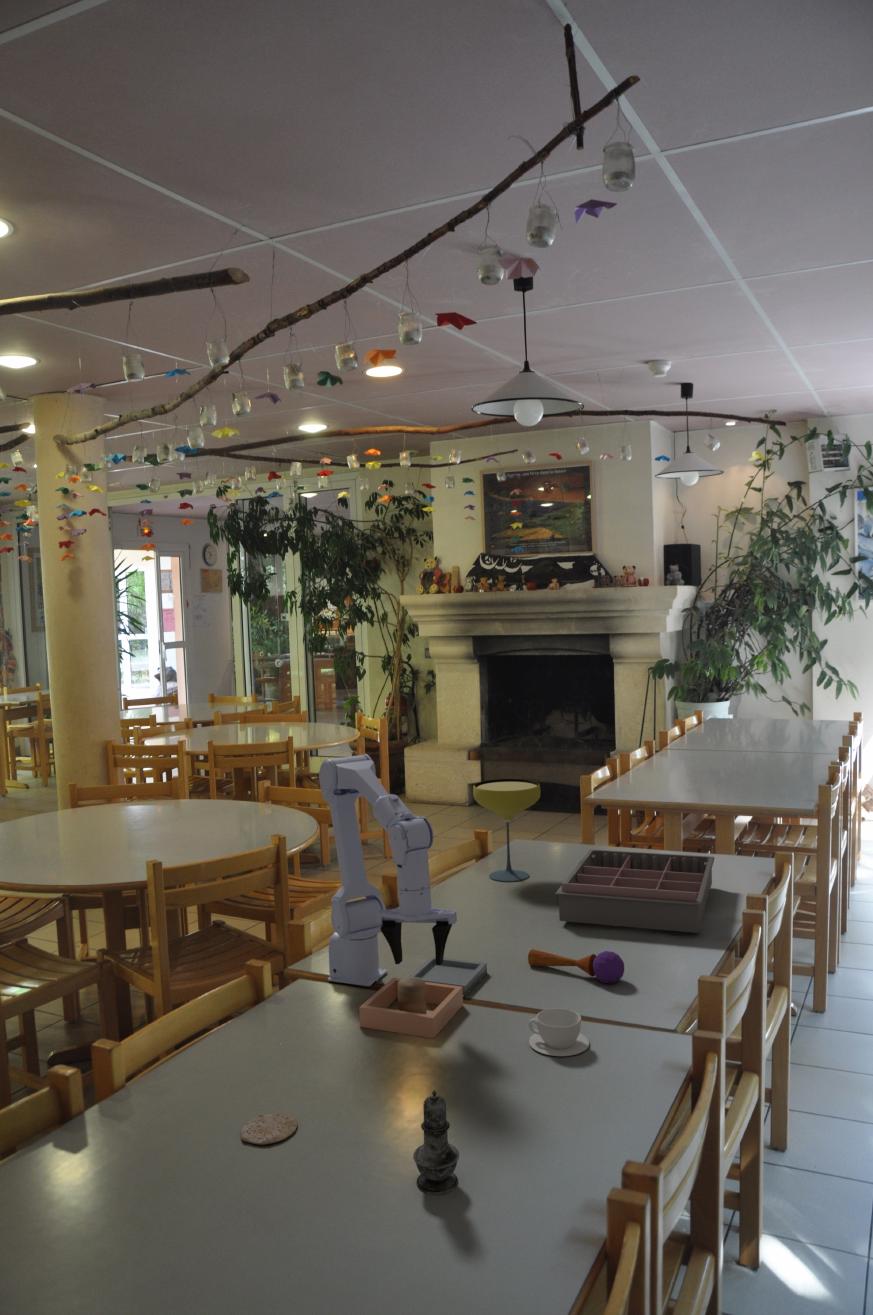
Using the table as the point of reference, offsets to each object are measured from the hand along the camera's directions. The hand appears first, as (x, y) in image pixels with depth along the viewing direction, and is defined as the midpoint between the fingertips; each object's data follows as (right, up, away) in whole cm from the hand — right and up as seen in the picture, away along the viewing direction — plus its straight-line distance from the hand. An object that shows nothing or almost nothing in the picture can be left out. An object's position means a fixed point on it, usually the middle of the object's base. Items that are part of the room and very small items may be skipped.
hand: (419, 963), depth 169 cm
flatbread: (-21, -13, -35) cm, 43 cm away
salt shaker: (+3, -12, -49) cm, 50 cm away
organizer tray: (+52, -6, +59) cm, 79 cm away
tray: (+5, -9, +17) cm, 19 cm away
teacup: (+23, -10, -12) cm, 28 cm away
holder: (-1, -10, +1) cm, 10 cm away
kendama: (+31, -8, +18) cm, 36 cm away
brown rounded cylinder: (-1, -10, +1) cm, 10 cm away
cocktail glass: (+23, -5, +87) cm, 90 cm away
